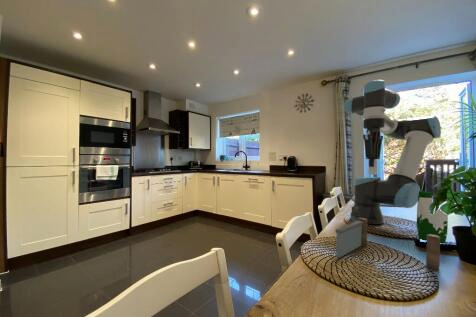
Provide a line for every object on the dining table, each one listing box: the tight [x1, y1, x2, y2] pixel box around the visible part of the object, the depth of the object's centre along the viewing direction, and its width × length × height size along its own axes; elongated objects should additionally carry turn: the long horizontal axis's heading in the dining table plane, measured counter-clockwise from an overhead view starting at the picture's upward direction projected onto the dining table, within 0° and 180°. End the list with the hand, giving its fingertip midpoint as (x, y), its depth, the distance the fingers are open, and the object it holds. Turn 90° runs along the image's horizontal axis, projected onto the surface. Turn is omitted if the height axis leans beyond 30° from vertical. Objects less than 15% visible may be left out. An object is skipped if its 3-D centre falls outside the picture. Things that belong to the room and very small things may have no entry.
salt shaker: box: [347, 205, 359, 225], centre depth 98 cm, size 6×6×12 cm
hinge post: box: [358, 218, 368, 247], centre depth 82 cm, size 3×3×10 cm
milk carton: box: [416, 190, 449, 244], centre depth 85 cm, size 9×9×20 cm
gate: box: [335, 221, 363, 258], centre depth 76 cm, size 16×2×9 cm, turn 127°
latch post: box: [425, 234, 441, 272], centre depth 65 cm, size 3×3×10 cm
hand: (372, 174), depth 90 cm, fingers closed
